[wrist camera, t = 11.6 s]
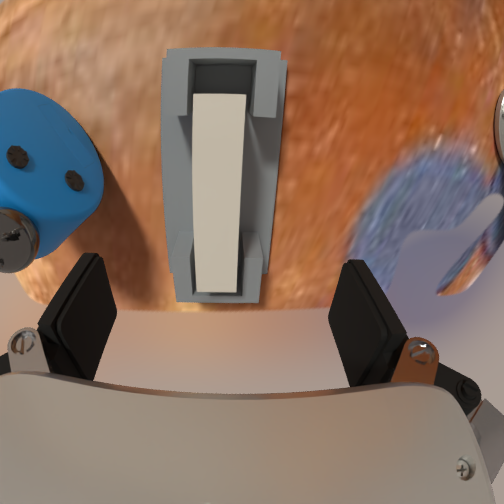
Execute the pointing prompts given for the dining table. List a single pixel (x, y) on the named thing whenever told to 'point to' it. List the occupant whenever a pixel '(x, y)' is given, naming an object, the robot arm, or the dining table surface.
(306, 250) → the dining table surface
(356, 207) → the dining table surface
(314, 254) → the dining table surface
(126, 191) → the dining table surface
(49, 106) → the alarm clock
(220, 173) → the light grey rectangular block
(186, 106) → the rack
